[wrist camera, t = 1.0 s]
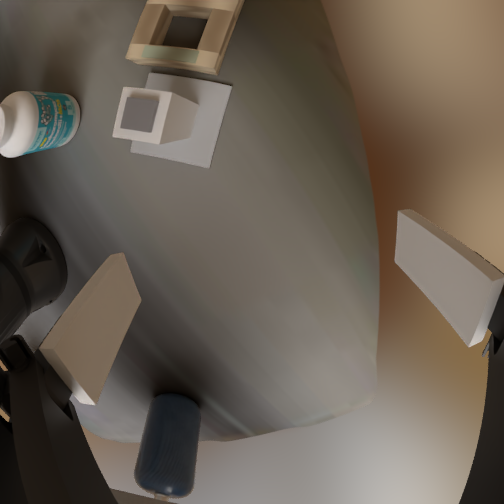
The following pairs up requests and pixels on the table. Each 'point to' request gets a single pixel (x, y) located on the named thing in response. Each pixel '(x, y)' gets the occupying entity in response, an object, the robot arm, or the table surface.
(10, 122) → the pill bottle
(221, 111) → the mat
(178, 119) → the plug
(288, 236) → the table surface
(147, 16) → the socket block
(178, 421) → the lamp
